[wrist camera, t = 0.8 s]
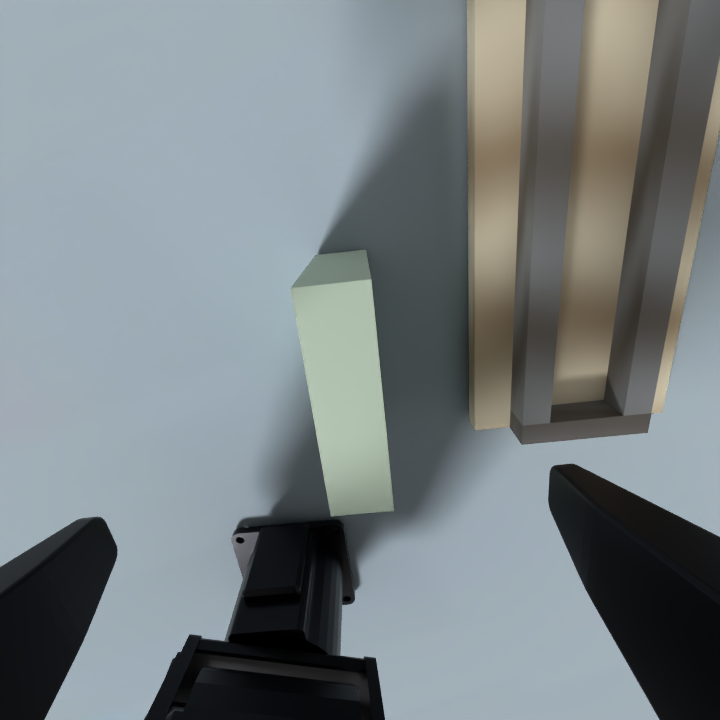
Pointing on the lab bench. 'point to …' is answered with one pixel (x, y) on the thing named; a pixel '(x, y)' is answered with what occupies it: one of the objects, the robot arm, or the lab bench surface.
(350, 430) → the door panel
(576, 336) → the track
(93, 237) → the lab bench surface
